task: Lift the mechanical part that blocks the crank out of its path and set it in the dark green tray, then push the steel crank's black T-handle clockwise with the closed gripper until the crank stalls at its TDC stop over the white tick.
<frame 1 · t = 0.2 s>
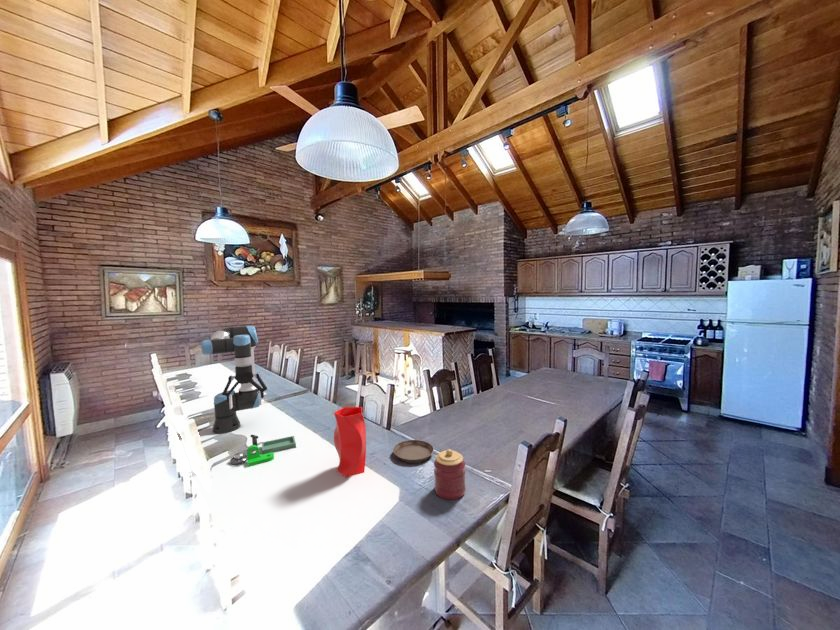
hand: (246, 406, 166), 27 cm above the table, fingers open, 13 cm apart
crank: (246, 446, 168), point 5 cm above the table, hinge at 125.0°
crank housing: (239, 460, 164), on the table
tray: (278, 446, 178), on the table
canister: (450, 491, 135), on the table
plant saucer: (413, 455, 166), on the table
mechanical part: (261, 461, 164), on the table
vase: (351, 469, 153), on the table
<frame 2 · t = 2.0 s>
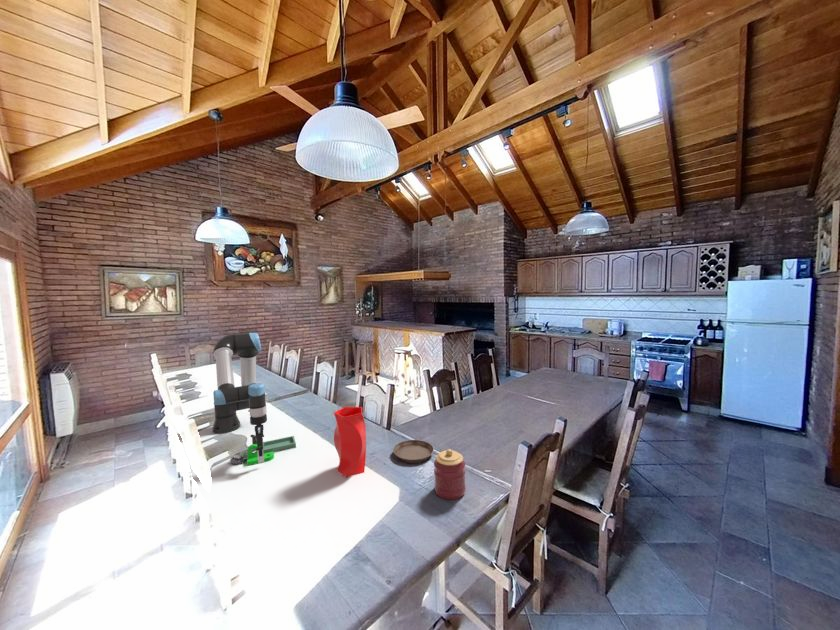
hand: (260, 456, 163), 3 cm above the table, fingers open, 13 cm apart
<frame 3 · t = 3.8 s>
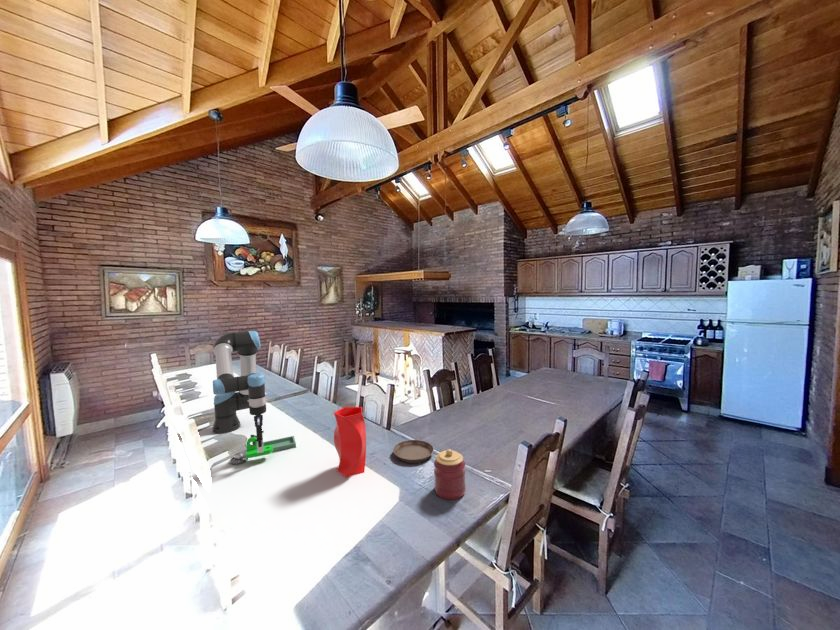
hand: (260, 449, 164), 6 cm above the table, fingers closed on mechanical part, 6 cm apart
mechanical part: (260, 453, 164), point 4 cm above the table, touching gripper
everything else where it was.
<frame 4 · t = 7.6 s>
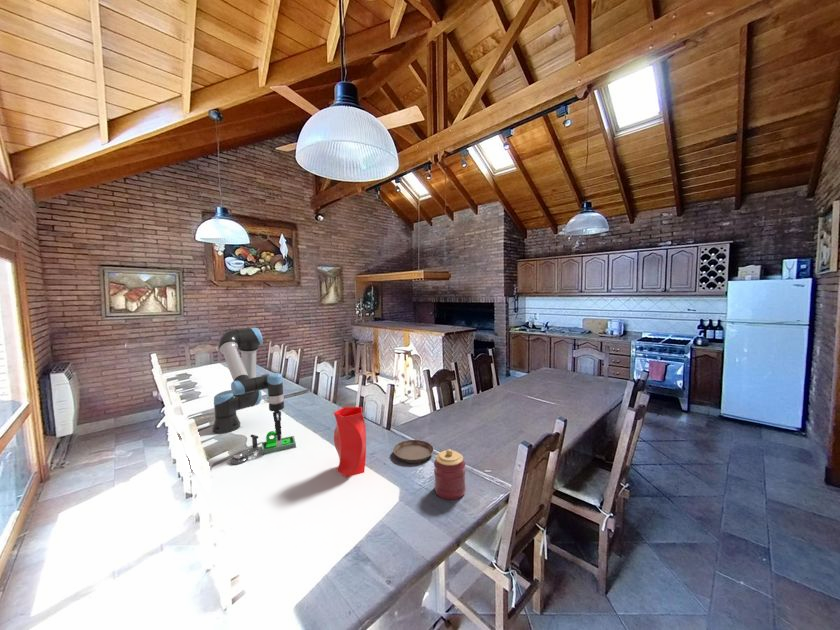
hand: (278, 443, 178), 2 cm above the table, fingers closed on mechanical part, 6 cm apart
mechanical part: (278, 446, 178), resting on tray, touching gripper
everything else where it was.
when the fingers open (3 cm above the table, at t = 8.9 s): mechanical part stays where it is, resting on tray.
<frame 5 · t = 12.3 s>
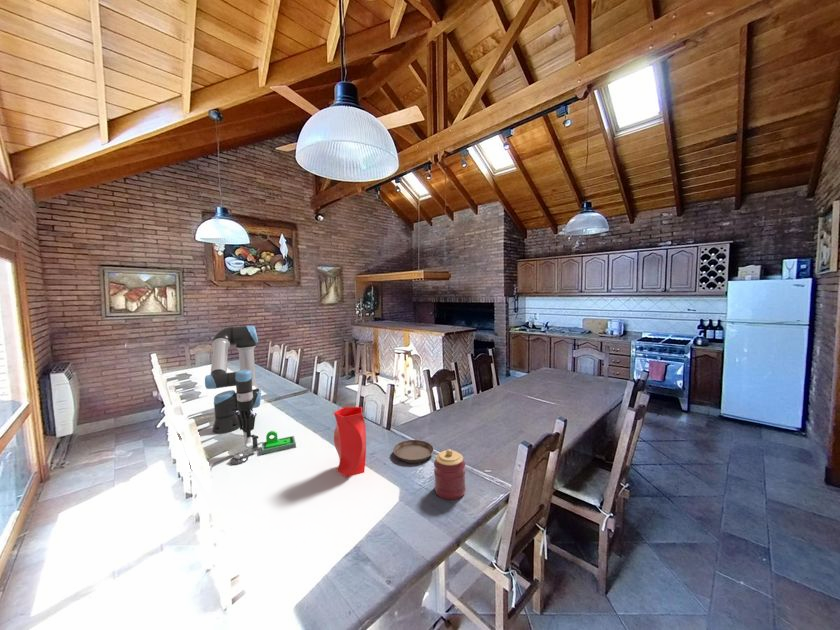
hand: (247, 442, 173), 5 cm above the table, fingers closed
crank: (246, 446, 168), point 5 cm above the table, hinge at 123.6°, touching gripper
mechanical part: (278, 446, 178), resting on tray
everything else where it was.
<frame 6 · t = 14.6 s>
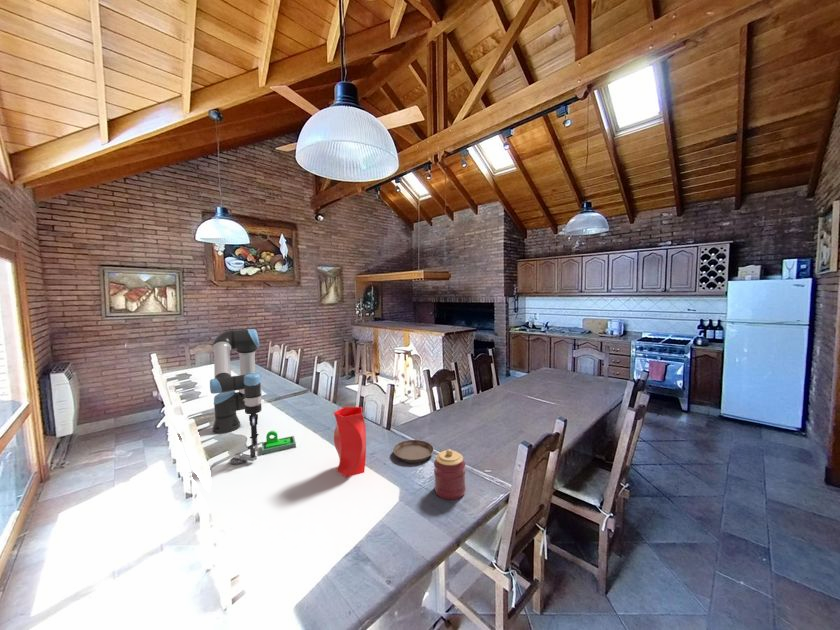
hand: (254, 449, 166), 5 cm above the table, fingers closed
crank: (244, 451, 163), point 5 cm above the table, hinge at 46.4°, touching gripper
everything else where it was.
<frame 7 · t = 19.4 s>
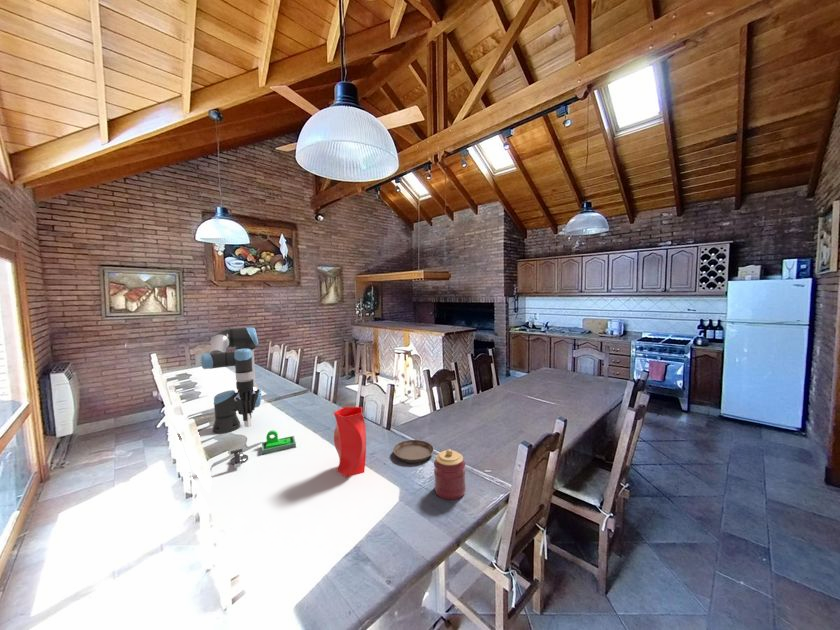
hand: (247, 426, 162), 18 cm above the table, fingers closed
crank: (237, 453, 160), point 5 cm above the table, hinge at -1.4°
everything else where it was.
at the end: crank at -1° (first picture: +125°); mechanical part inside the target area on the tray (0.7 cm from its centre), point 0.3 cm above the tray's base; the gripper is holding nothing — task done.
